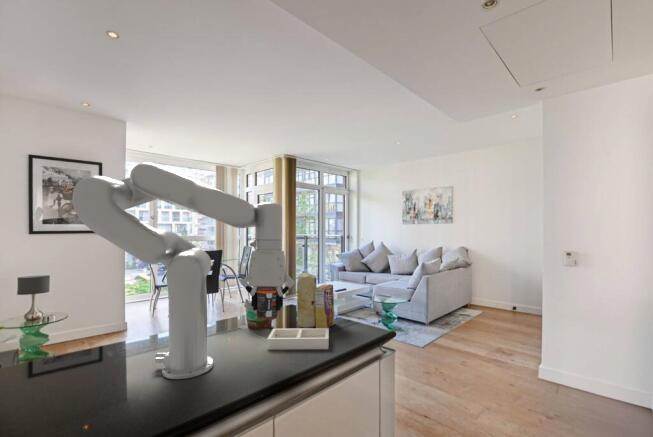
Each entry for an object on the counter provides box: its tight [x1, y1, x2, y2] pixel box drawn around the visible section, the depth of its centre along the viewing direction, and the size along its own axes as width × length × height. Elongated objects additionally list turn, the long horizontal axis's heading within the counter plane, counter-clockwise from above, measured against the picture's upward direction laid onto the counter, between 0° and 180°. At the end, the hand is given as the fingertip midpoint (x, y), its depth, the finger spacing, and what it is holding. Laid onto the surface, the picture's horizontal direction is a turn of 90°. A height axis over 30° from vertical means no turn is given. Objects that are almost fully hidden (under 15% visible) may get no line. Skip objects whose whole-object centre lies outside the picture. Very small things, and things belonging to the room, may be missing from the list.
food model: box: [296, 272, 318, 328], centre depth 120 cm, size 10×7×20 cm
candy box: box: [315, 283, 336, 329], centre depth 118 cm, size 9×4×15 cm, turn 155°
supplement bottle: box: [257, 287, 279, 321], centre depth 89 cm, size 6×6×11 cm
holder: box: [266, 327, 330, 350], centre depth 101 cm, size 19×10×3 cm, turn 89°
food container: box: [243, 298, 273, 331], centre depth 118 cm, size 12×6×10 cm, turn 73°
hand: (267, 308), depth 89 cm, fingers closed on supplement bottle, 6 cm apart
